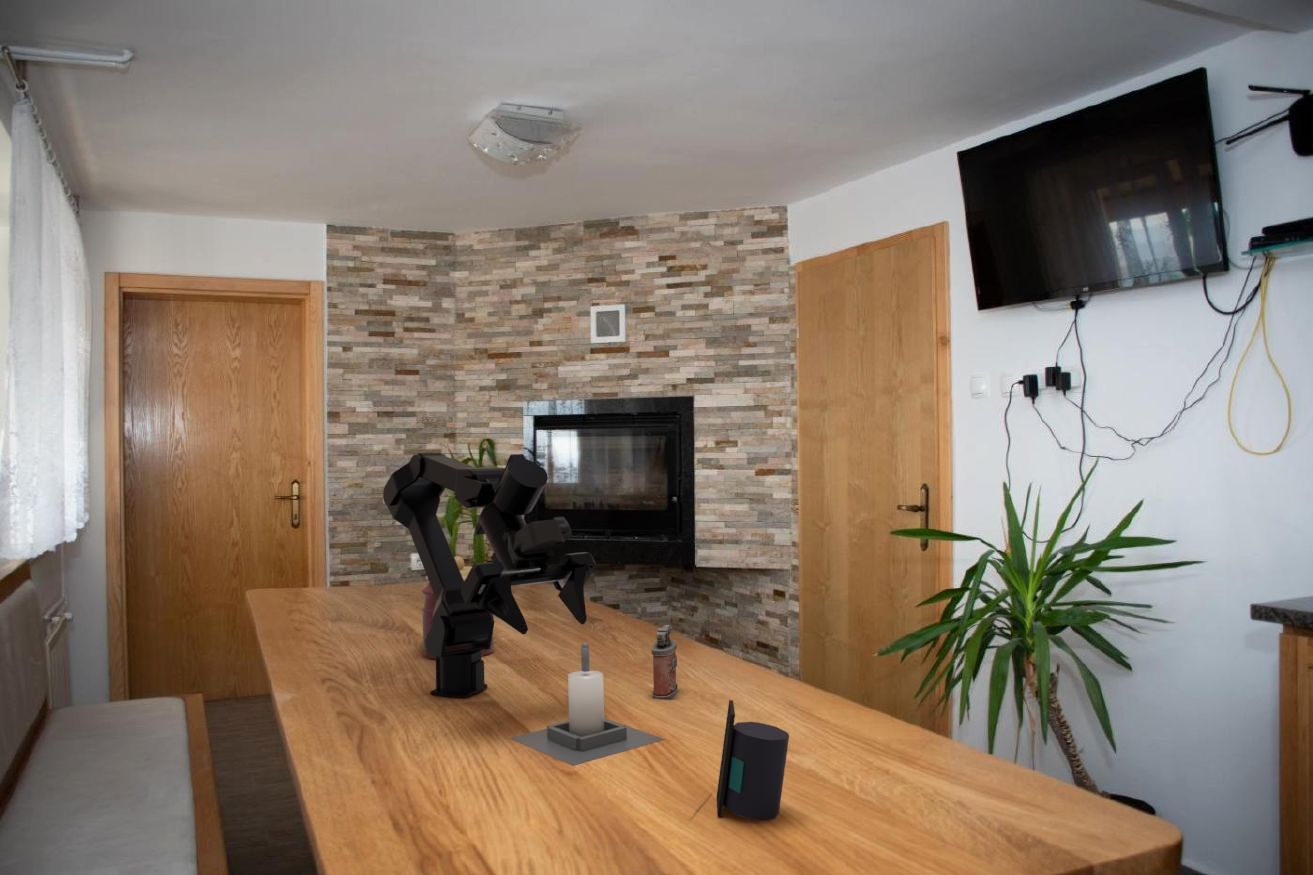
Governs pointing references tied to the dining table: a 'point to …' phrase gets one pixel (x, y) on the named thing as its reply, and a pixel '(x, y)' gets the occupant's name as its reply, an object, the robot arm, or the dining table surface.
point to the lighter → (664, 665)
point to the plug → (586, 698)
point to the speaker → (751, 768)
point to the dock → (585, 741)
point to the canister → (430, 606)
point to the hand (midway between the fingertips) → (555, 627)
